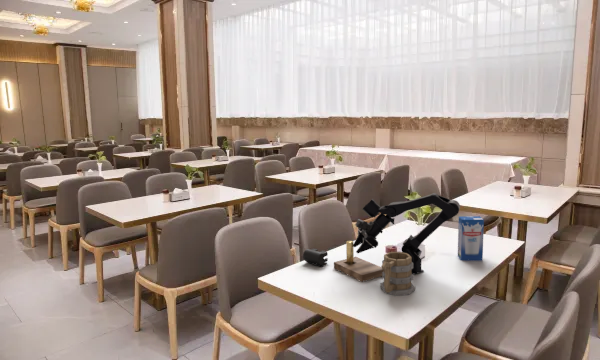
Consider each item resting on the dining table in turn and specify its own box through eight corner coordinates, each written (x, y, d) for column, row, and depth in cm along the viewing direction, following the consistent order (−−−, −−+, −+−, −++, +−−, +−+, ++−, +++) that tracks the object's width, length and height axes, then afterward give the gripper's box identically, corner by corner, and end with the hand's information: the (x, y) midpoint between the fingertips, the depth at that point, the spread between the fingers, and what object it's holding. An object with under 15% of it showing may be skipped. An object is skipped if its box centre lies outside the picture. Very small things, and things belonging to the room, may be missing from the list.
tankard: (390, 280, 183) (390, 246, 180) (418, 287, 175) (419, 251, 172) (366, 296, 167) (366, 259, 165) (396, 304, 159) (396, 266, 157)
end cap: (303, 263, 206) (302, 250, 205) (312, 260, 211) (312, 246, 210) (318, 268, 199) (318, 254, 198) (328, 264, 204) (328, 250, 203)
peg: (355, 269, 197) (354, 241, 195) (349, 270, 195) (349, 243, 193) (350, 267, 199) (350, 240, 197) (345, 268, 198) (344, 241, 196)
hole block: (384, 275, 189) (384, 268, 188) (362, 281, 182) (362, 275, 181) (355, 262, 205) (355, 256, 205) (334, 268, 199) (333, 262, 198)
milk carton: (478, 256, 209) (479, 216, 206) (482, 260, 203) (484, 219, 200) (457, 256, 210) (458, 216, 207) (460, 260, 204) (462, 219, 201)
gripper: (362, 208, 203) (339, 232, 204) (370, 218, 184) (345, 244, 185) (378, 224, 204) (356, 247, 205) (388, 234, 186) (363, 260, 187)
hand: (355, 249), depth 196 cm, fingers open, 9 cm apart
